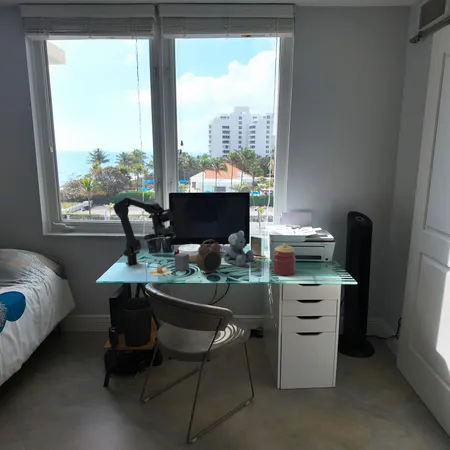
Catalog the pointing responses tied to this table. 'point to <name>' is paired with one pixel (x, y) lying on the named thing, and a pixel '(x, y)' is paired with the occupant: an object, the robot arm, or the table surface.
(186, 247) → the bowl
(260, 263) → the table surface
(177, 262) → the gray rectangular block
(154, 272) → the cork mat
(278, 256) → the canister
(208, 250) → the alarm clock
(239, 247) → the koala plush
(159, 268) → the ink pot
